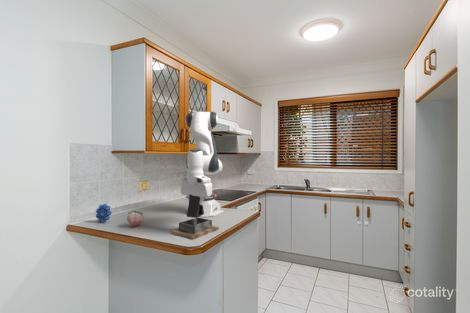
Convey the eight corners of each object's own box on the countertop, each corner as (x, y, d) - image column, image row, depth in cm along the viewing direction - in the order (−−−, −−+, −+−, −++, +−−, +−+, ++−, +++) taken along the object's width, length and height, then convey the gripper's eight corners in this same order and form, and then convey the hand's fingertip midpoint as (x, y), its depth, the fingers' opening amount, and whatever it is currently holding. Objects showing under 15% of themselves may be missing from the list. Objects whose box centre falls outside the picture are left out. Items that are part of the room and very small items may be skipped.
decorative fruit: (146, 224, 147) (146, 207, 147) (141, 228, 139) (141, 210, 139) (130, 224, 147) (130, 207, 147) (124, 228, 139) (124, 211, 139)
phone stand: (194, 213, 138) (194, 192, 138) (204, 214, 136) (204, 192, 136) (186, 217, 129) (186, 194, 129) (196, 217, 127) (196, 194, 127)
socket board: (197, 224, 145) (197, 215, 145) (218, 229, 136) (218, 219, 136) (171, 233, 129) (171, 223, 129) (193, 239, 120) (193, 228, 120)
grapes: (116, 221, 153) (116, 202, 153) (108, 224, 147) (107, 204, 147) (101, 220, 157) (101, 201, 157) (92, 223, 150) (92, 203, 150)
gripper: (178, 178, 136) (178, 202, 136) (205, 180, 124) (205, 207, 124) (186, 177, 141) (186, 201, 141) (213, 179, 129) (213, 205, 129)
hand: (195, 204), depth 133 cm, fingers closed on phone stand, 6 cm apart
